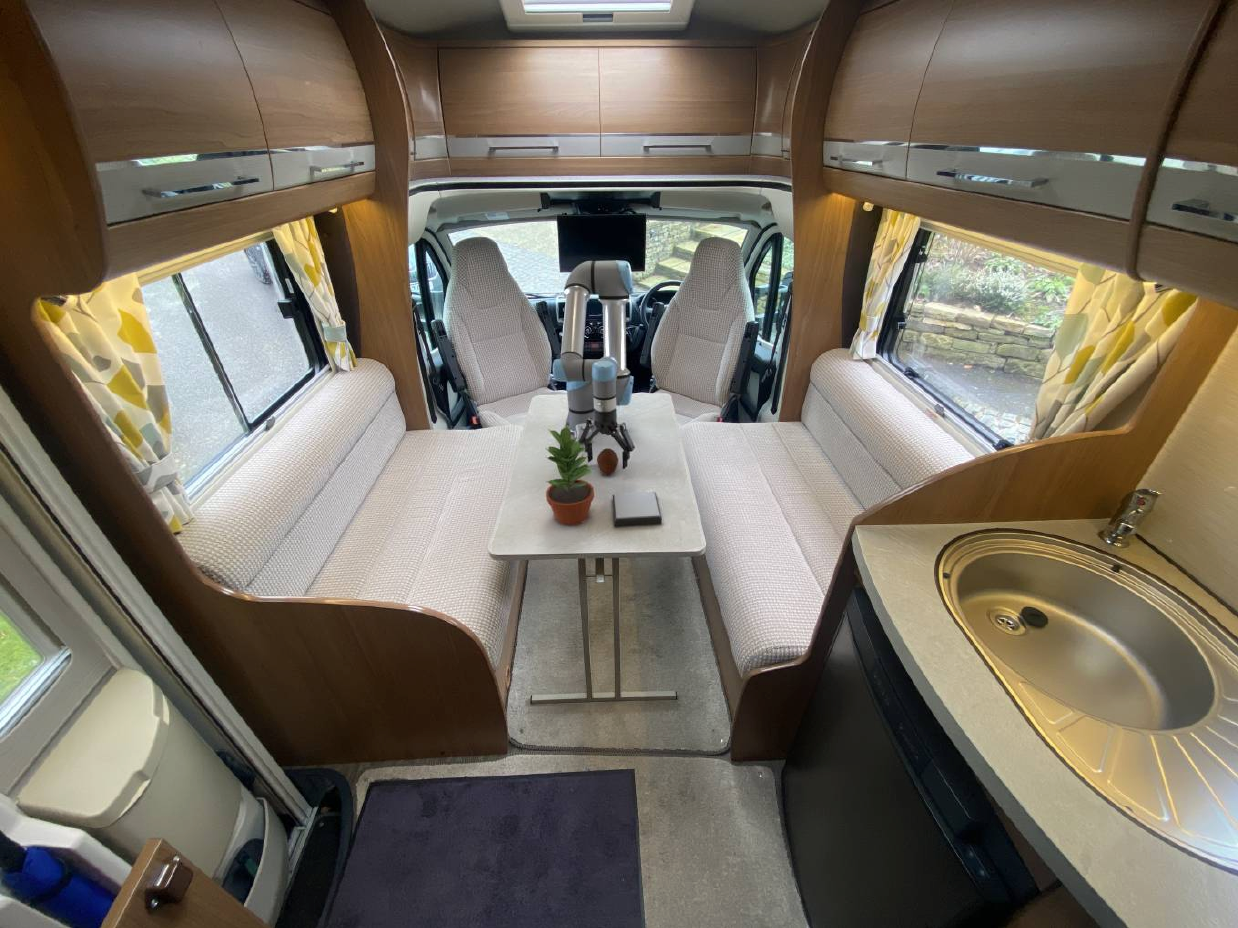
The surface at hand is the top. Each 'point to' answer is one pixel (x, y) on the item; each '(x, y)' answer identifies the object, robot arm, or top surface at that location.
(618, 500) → the scale
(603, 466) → the potato
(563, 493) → the potted plant
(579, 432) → the tape dispenser
